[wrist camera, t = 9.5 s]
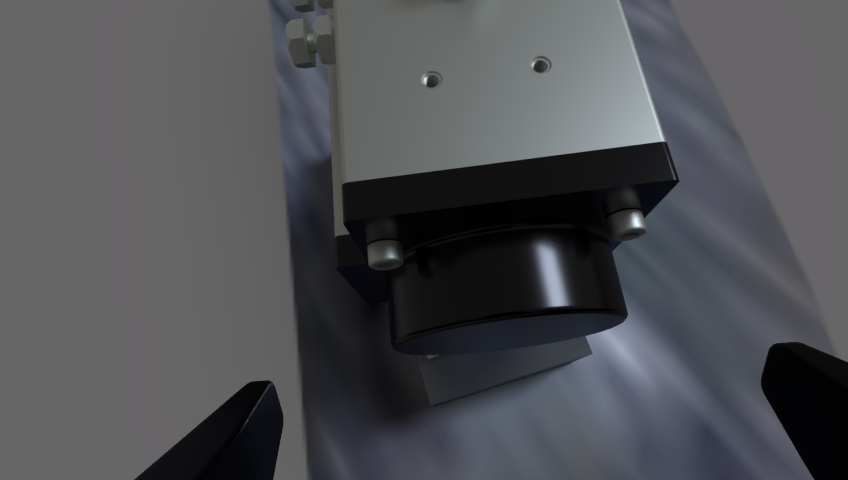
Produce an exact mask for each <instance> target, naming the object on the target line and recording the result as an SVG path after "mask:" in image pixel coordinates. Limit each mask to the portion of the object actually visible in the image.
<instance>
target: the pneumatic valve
mask: <svg viewBox="0 0 848 480" xmlns="http://www.w3.org/2000/svg"><path fill="white" fill-rule="evenodd" d="M291 2H292V4H293V6H294V8H295V10H297V11H299V12H310V11H314V0H291ZM318 3H319V5H320V6H321V7H322V8H325V9H326V15H322V16H318V17H316V18H315V19H314V20H313V32H312V33H311V30H310V26H309V24H308V23H307V22H306V21H305V20H304V19H303V18H301V19H294V20H290V21H289V22H288V23H287V24H286V40H287V45H288V50H289V53H290V56H291V59H292V61H293V63H294V65H295V66H296V67H298V68H310V67H316V53H317V52H318V56H319V58H320V60H321V62H322V63H323V64H327V65H328V83H329V107H330V132H331V157H332V181H333V206H334V230H335V255H336V269H337V270H338V271H339V273H340V274H341V275H342V276H343V277H344V278H345V279H346V280H347V281H348V283H349V284H350V285H351V286H352V287H353V288H354V289H355V290H356V291H357V292H358V294H359V295H360V296H361V297H362V298H363V299H364V300H365V301H366V302H367V303H378V302H386V301H388V308H389V320H390V333H391V344H392V347H393V348H394V349H395V350H396V351H398V352H401V353H405V354H412V355H456V354H471V353H482V352H492V351H501V350H509V349H517V348H524V347H531V346H537V345H543V344H549V343H554V342H560V341H565V340H570V339H574V338H579V337H583V336H587V335H591V334H595V333H598V332H602V331H605V330H607V329H610V328H613V327H615V326H617V325H619V324H621V323H623V322H624V321H625V320H626V318H627V316H628V312H627V308H626V304H625V300H624V297H623V293H622V289H621V285H620V281H619V277H618V273H617V269H616V265H615V261H614V258H613V254H612V251H613V250H614V249H615V248H616V247H617V246H618V245H619V244H620V243H621V242H622V241H628V240H632V239H635V238H638V237H640V236H642V235H644V234H645V233H646V231H647V227H646V224H645V220H644V218H645V217H646V216H647V215H648V214H649V213H650V212H651V211H652V210H653V209H654V207H655V206H656V205H657V204H658V203H659V202H660V201H661V200H662V199H663V198H664V197H665V196H666V195H667V194H668V193H669V192H670V191H671V190H672V189H673V188H674V187H675V186H676V185H677V183H678V182H679V178H678V175H677V172H676V169H675V166H674V163H673V160H672V157H671V154H670V151H669V148H668V145H667V142H666V138H665V135H664V132H663V129H662V126H661V123H660V120H659V117H658V114H657V111H656V108H655V105H654V102H653V99H652V96H651V93H650V90H649V86H648V83H647V80H646V77H645V74H644V71H643V68H642V65H641V62H640V59H639V56H638V53H637V50H636V47H635V44H634V41H633V38H632V35H631V31H630V28H629V25H628V22H627V19H626V16H625V13H624V10H623V7H622V4H621V1H620V0H318Z"/></svg>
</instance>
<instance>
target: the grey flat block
mask: <svg viewBox="0 0 848 480" xmlns="http://www.w3.org/2000/svg"><path fill="white" fill-rule="evenodd" d="M591 354H592V351H591V349H590V346H589V344H588V342H587V339H586V337H585V336H583V337H579V338H574V339H570V340H565V341H560V342H554V343H549V344H543V345H537V346H531V347H524V348H517V349H509V350H501V351H492V352H482V353H471V354H456V355H416V357H417V361H418V364H419V368H420V371H421V375H422V378H423V382H424V385H425V389H426V392H427V395H428V399H429V402H430V406H437V405H440V404H443V403H446V402H449V401H452V400H455V399H459V398H462V397H465V396H468V395H471V394H474V393H477V392H480V391H484V390H487V389H490V388H493V387H496V386H499V385H502V384H505V383H508V382H512V381H515V380H518V379H521V378H524V377H527V376H530V375H533V374H537V373H540V372H543V371H546V370H549V369H552V368H555V367H558V366H562V365H565V364H568V363H571V362H574V361H576V360H579V359H581V358H584V357H586V356H588V355H591Z"/></svg>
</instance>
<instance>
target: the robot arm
mask: <svg viewBox="0 0 848 480" xmlns="http://www.w3.org/2000/svg"><path fill="white" fill-rule="evenodd" d="M761 386H762V390H763V393H764V395H765V396H766V398H767V400H768V402H769V403H770V405H771V407H772V409H773V410H774V412H775V414H776V415H777V417H778V419H779V421H780V422H781V424H782V426H783V428H784V429H785V431H786V433H787V434H788V436H789V438H790V440H791V441H792V443H793V445H794V447H795V448H796V450H797V452H798V453H799V455H800V457H801V459H802V460H803V462H804V464H805V465H806V467H807V468H808V470H809V472H810V473H811V475H812V476H813V478H814V479H815V480H848V362H846V361H843V360H841V359H839V358H836V357H834V356H831V355H829V354H827V353H824V352H822V351H820V350H817V349H815V348H812V347H810V346H808V345H805V344H803V343H799V342H788V343H777V344H774V345H772V346H771V347H770V349H769V351H768V355H767V358H766V362H765V366H764V369H763V373H762V377H761ZM282 429H283V412H282V409H281V406H280V402H279V399H278V395H277V392H276V389H275V386H274V384H273V383H272V382H271V381H268V380H267V381H254V382H250V383H248V384H247V385H245V386H244V387H243V388H241V389H240V390H239V391H238V392H237V393H236V394H234V395H233V396H232V397H231V398H230V399H229V400H227V401H226V402H225V403H224V404H223V405H221V406H220V407H219V408H218V409H217V410H216V411H214V412H213V413H212V414H211V415H210V416H209V417H207V418H206V419H205V420H204V421H203V422H201V423H200V424H199V425H198V426H197V427H196V428H194V429H193V430H192V431H191V432H190V433H189V434H187V435H186V436H185V437H184V438H183V439H182V440H180V441H179V442H178V443H177V444H176V445H174V446H173V447H172V448H171V449H170V450H169V451H168V452H166V453H165V454H164V455H163V456H162V457H160V458H159V459H158V460H157V461H156V462H155V463H153V464H152V465H151V466H150V467H149V468H147V469H146V470H145V471H144V472H143V473H142V474H140V475H139V476H138V477H137V478H136V479H135V480H273V477H274V472H275V466H276V460H277V456H278V450H279V445H280V439H281V434H282Z"/></svg>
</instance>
